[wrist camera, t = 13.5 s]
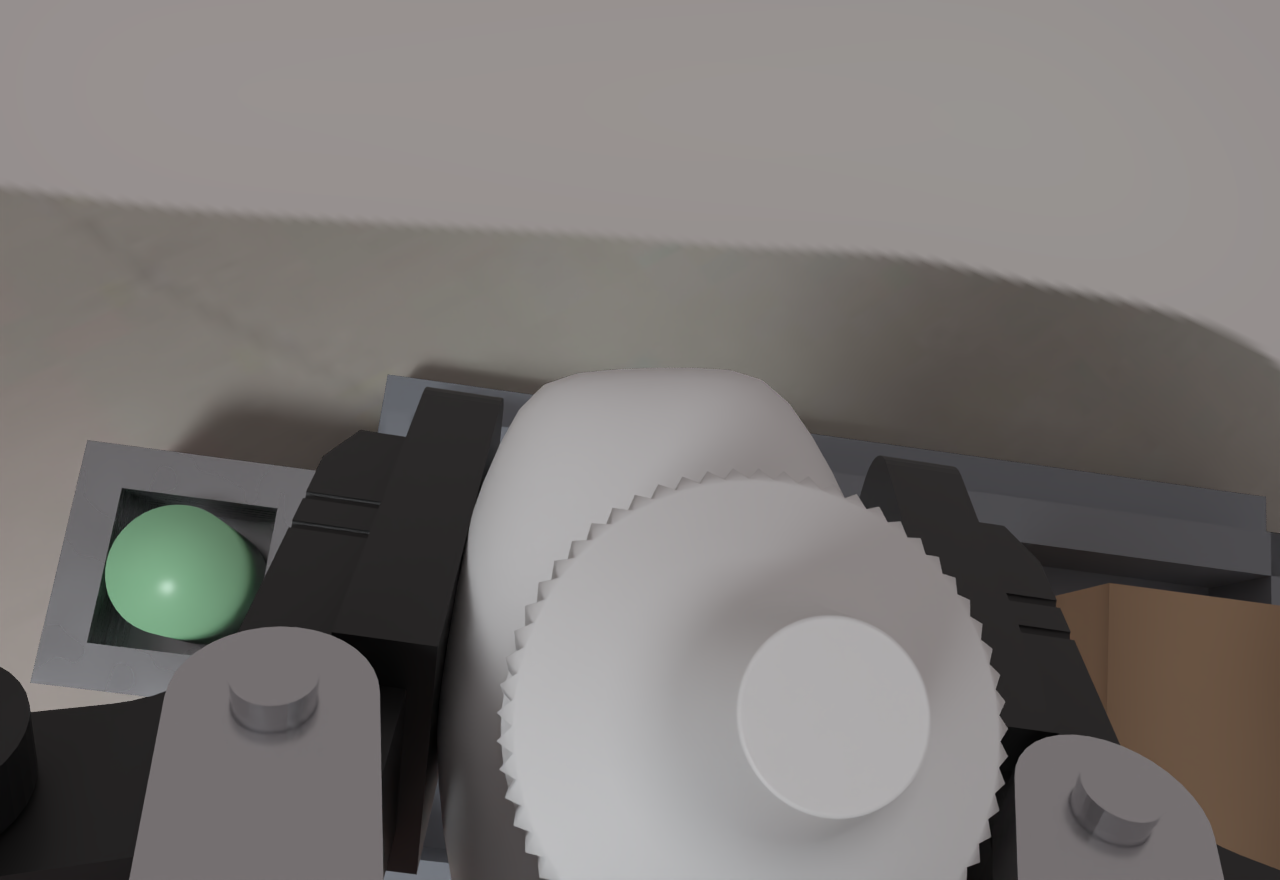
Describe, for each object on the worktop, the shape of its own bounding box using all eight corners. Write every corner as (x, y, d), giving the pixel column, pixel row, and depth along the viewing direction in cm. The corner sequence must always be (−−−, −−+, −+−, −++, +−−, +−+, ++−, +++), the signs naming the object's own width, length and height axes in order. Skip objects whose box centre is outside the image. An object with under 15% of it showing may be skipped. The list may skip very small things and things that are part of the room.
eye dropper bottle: (352, 859, 15) (-211, 1252, 4) (556, 473, 17) (632, -148, 5) (661, 1018, 15) (1131, 1970, 3) (839, 616, 16) (1593, 324, 5)
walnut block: (896, 806, 27) (1104, 850, 18) (906, 631, 28) (1109, 582, 19) (1147, 836, 28) (1484, 896, 18) (1149, 662, 29) (1470, 631, 19)
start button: (135, 636, 26) (91, 626, 23) (160, 519, 27) (120, 496, 24) (256, 651, 26) (226, 642, 24) (278, 534, 27) (252, 513, 24)
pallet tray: (298, 944, 27) (262, 981, 23) (393, 391, 30) (375, 341, 26) (1233, 1042, 28) (1347, 1093, 25) (1231, 507, 32) (1331, 476, 28)
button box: (98, 688, 28) (30, 682, 24) (144, 478, 29) (87, 440, 25) (315, 714, 28) (284, 712, 24) (353, 505, 29) (328, 472, 25)
